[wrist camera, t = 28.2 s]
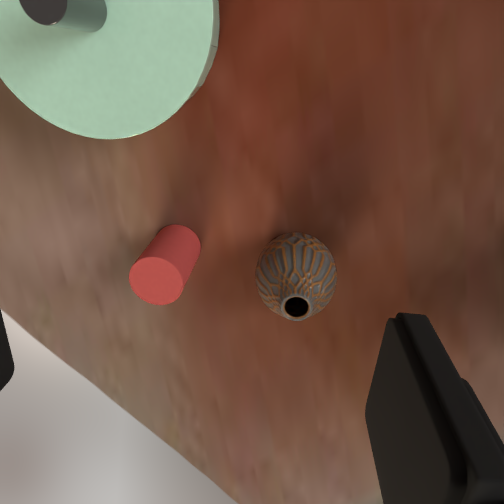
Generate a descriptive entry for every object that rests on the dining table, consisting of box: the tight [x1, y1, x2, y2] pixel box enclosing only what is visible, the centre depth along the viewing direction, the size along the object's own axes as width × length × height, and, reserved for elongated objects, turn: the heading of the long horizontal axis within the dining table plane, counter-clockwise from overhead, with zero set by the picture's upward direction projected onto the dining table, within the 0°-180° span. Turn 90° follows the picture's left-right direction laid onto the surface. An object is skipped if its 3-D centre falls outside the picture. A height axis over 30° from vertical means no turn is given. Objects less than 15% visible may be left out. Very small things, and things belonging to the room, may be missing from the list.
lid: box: [0, 0, 214, 139], centre depth 23 cm, size 16×16×6 cm
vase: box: [255, 232, 337, 321], centre depth 33 cm, size 7×7×9 cm
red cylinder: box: [129, 224, 201, 305], centre depth 35 cm, size 4×4×7 cm
